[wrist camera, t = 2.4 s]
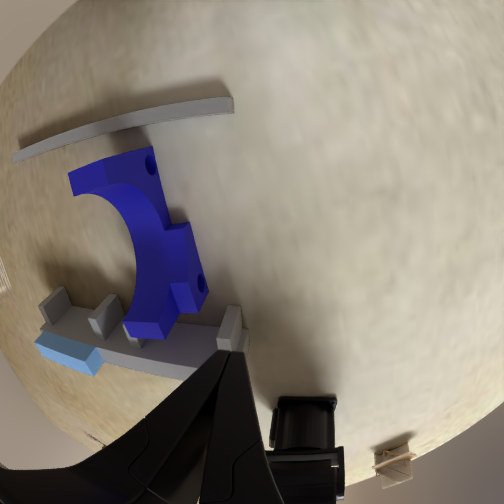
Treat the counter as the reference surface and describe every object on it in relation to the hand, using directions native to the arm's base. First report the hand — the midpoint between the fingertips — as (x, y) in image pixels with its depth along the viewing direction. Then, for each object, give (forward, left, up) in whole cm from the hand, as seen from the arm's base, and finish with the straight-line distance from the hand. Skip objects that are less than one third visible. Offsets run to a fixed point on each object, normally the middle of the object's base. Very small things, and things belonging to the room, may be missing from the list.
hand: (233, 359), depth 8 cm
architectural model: (-20, +37, -13) cm, 44 cm away
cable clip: (+8, 0, -12) cm, 15 cm away
